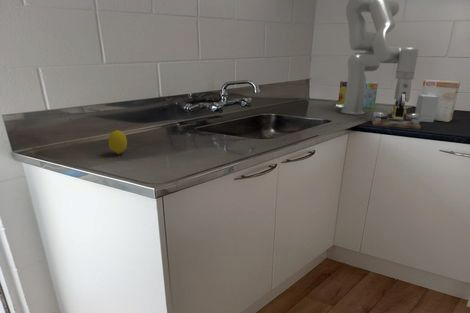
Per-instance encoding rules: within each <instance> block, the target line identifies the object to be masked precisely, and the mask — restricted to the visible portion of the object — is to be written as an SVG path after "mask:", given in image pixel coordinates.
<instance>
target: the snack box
mask: <svg viewBox="0 0 470 313" xmlns="http://www.w3.org/2000/svg"><path fill="white" fill-rule="evenodd" d="M378 87H379V82H373V81H372V82H371V81H366V86H365V93H364V100H363V107H362V109H375V107H376V106H375V105H376V101H377V94H378ZM346 88H347V80H340V83H339V89H338V90H339V91H338V98H337V99H338V100H337V104H338V105H342V104H344V103H345V96H346Z"/></svg>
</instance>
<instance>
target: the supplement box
mask: <svg viewBox="0 0 470 313" xmlns="http://www.w3.org/2000/svg"><path fill="white" fill-rule="evenodd" d="M417 96H418V97H417V100H416V101H417V102H416V105H415V106H416V107H415V110H414V111H415V112H414V113H420V115H421V117H420V118H418V119H419V120H420V121H419V122H424V123H425V122H426V123H434V121H435V120H434V118H435V113H436V108H437V104H438V99H439V97H438V96H435V95H421V94H418V95H417Z"/></svg>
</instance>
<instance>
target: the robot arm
mask: <svg viewBox="0 0 470 313" xmlns="http://www.w3.org/2000/svg"><path fill="white" fill-rule="evenodd" d="M345 8H346V9H345V15H346V20H347V26H348V39H349V42H348V43H349V47H350V49H351V50H353V51H356V52H355V53H353V54H351V55H350V56H348V58H347V59H348V60H347V80H346V81H347V88H346V96H345V103H344V104H342V105H338V103H336V104H335V106H334V107H335V109H340V113H342V114H345V115H355V116H357V115H358V116H361V115H362V116H363V115H365V110H364V109H363V108H362V107H363V100H364V93H365V86H366V82H367V77H366V72H375V71H377V70H378V69H379V68H380V66H381V64H396V71H395V76H394V77H395V78H394V79H395V80H396V85H395V91H394V100H395V103H394V104H398V106H397V108H396V114H395V116H396V117H403V118H404V116H403V113H404V107H405V108H406V106H405V104H406V103H408V102H410V99H411V98H410V95H411V90H412V89H411V88H412V80H413V81H414V79H415V72H416V68H417V63H418V62H417V60H418V56H419V48H417V47H414V46H411V47H410V46H396V45H395V46H394V45H393V46H389V45H388V43H387V40H386V34H388V33H390V32H391V31H392V30H394V28H395V27H396V22H395V19H394V17H395V16H396V15H397V14H398V12H399V11H400V4H399V2H398V0H348V1H347V2H346V7H345ZM362 13H370V17H371V19H372V22H373V25H374V28H375V30H376V31H375V32H373V31H368V30H367V28H366V27H367V23H366V20H365V18H364V15H363V14H362ZM357 51H358V52H357ZM359 51H361V52H359Z"/></svg>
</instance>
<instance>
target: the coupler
mask: <svg viewBox="0 0 470 313" xmlns="http://www.w3.org/2000/svg"><path fill="white" fill-rule="evenodd" d="M397 106H398V104H395V103H394V104H393V108H390V113H389V114H391V117H392V118H393V119H404V115H405V116H406V114H407V109H405V108H406V106H405V107H404V113H403V117H396V116H395V114H396V108H397Z"/></svg>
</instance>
